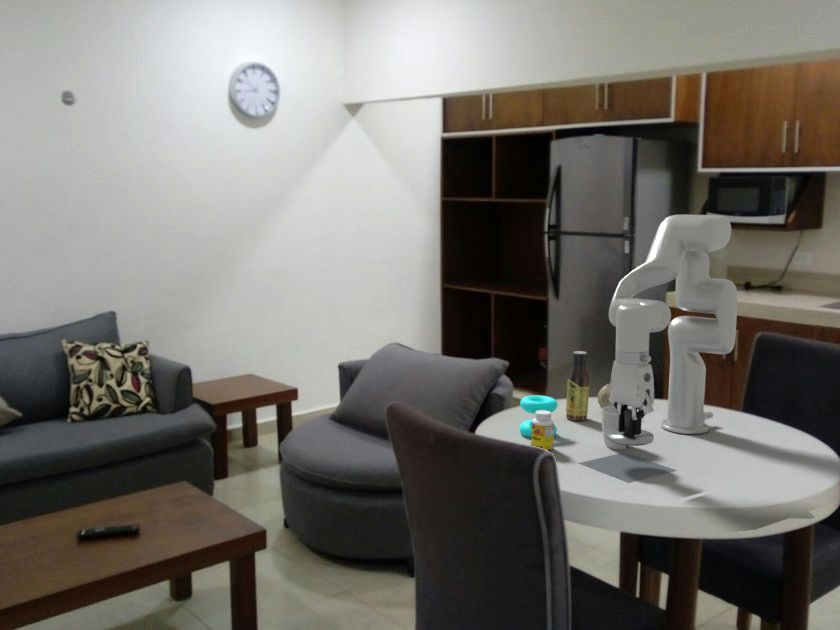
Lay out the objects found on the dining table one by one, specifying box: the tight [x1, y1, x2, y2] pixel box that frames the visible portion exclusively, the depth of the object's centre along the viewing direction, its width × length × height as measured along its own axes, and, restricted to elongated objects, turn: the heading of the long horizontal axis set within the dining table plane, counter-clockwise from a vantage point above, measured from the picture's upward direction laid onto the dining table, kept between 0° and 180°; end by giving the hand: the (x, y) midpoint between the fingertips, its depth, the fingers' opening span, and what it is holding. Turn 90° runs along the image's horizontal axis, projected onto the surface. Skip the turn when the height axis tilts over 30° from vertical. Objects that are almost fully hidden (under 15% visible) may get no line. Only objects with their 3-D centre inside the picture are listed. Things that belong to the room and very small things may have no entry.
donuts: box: [519, 394, 558, 438], centre depth 222 cm, size 10×10×10 cm
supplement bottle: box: [530, 410, 555, 453], centre depth 208 cm, size 6×6×10 cm
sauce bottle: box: [565, 350, 590, 422], centre depth 237 cm, size 6×6×20 cm
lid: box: [606, 408, 655, 447], centre depth 194 cm, size 11×11×7 cm
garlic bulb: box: [597, 383, 614, 409], centre depth 245 cm, size 9×8×10 cm
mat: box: [578, 452, 677, 484], centre depth 195 cm, size 16×16×1 cm
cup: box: [600, 407, 629, 450], centre depth 211 cm, size 8×8×10 cm
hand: (629, 432), depth 195 cm, fingers closed on lid, 2 cm apart
